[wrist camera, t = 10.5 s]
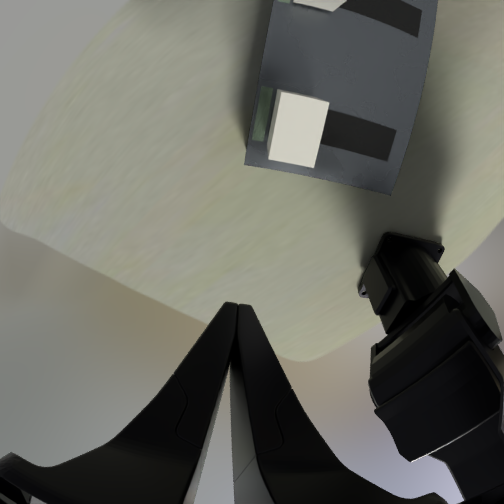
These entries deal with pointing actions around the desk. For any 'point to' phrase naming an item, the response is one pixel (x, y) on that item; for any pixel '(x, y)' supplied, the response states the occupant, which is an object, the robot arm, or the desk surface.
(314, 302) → the desk surface
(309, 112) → the handle
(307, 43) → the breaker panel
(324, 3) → the handle
